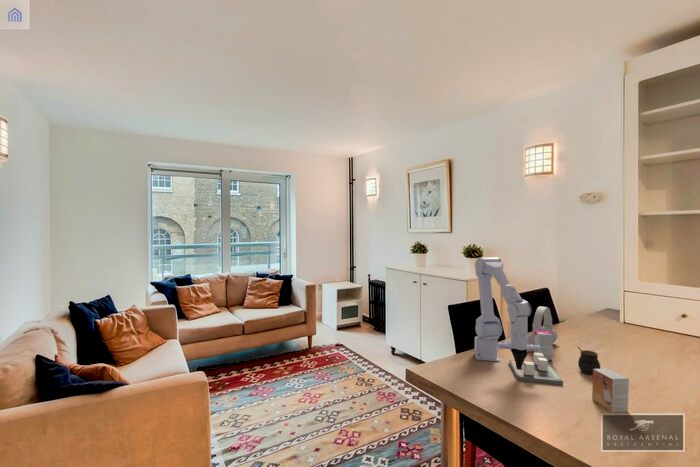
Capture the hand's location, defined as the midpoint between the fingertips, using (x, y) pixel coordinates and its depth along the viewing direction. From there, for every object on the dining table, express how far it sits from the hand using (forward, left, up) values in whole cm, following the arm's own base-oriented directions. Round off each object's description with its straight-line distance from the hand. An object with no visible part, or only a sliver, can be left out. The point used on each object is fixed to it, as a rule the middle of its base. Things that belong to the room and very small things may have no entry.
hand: (518, 368), depth 132 cm
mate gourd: (+28, +12, -4) cm, 30 cm away
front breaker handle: (+4, 0, -1) cm, 4 cm away
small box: (+24, -15, -4) cm, 29 cm away
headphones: (+18, +39, -4) cm, 43 cm away
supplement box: (+15, +24, -4) cm, 28 cm away
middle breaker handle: (+10, +6, -1) cm, 11 cm away
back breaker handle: (+10, +11, -2) cm, 15 cm away
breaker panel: (+7, +6, -3) cm, 9 cm away
